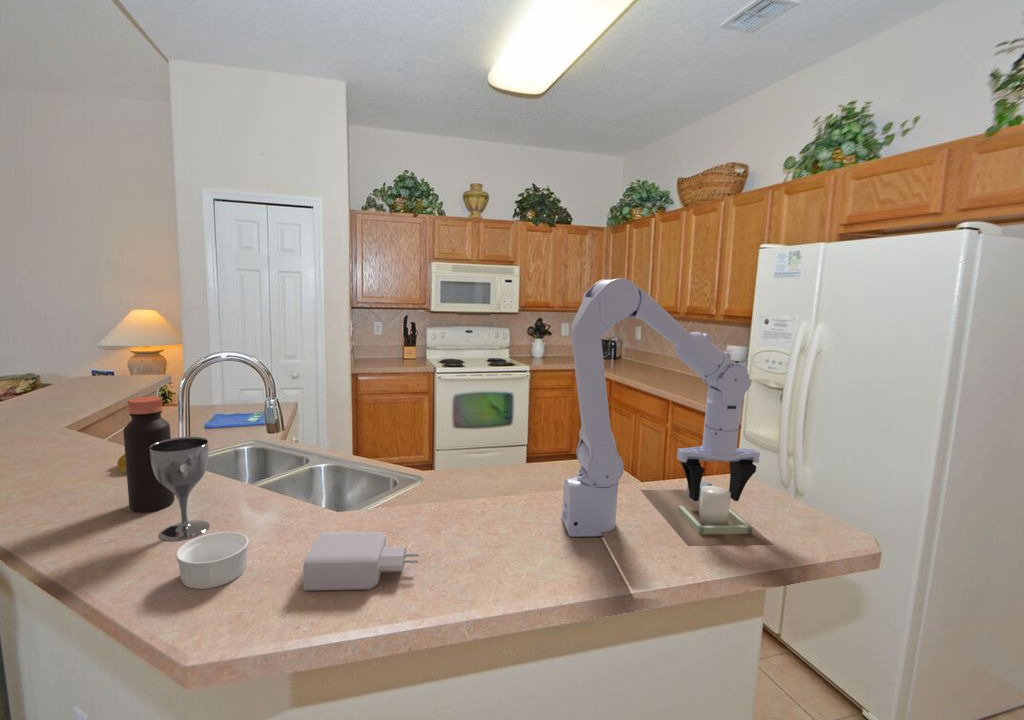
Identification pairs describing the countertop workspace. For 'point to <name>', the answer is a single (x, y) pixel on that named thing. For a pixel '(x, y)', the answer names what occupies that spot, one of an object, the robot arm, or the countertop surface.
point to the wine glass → (180, 479)
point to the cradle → (740, 528)
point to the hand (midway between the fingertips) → (713, 498)
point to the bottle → (145, 454)
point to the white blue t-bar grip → (713, 504)
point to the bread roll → (122, 464)
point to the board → (668, 509)
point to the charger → (351, 561)
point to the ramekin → (212, 559)
